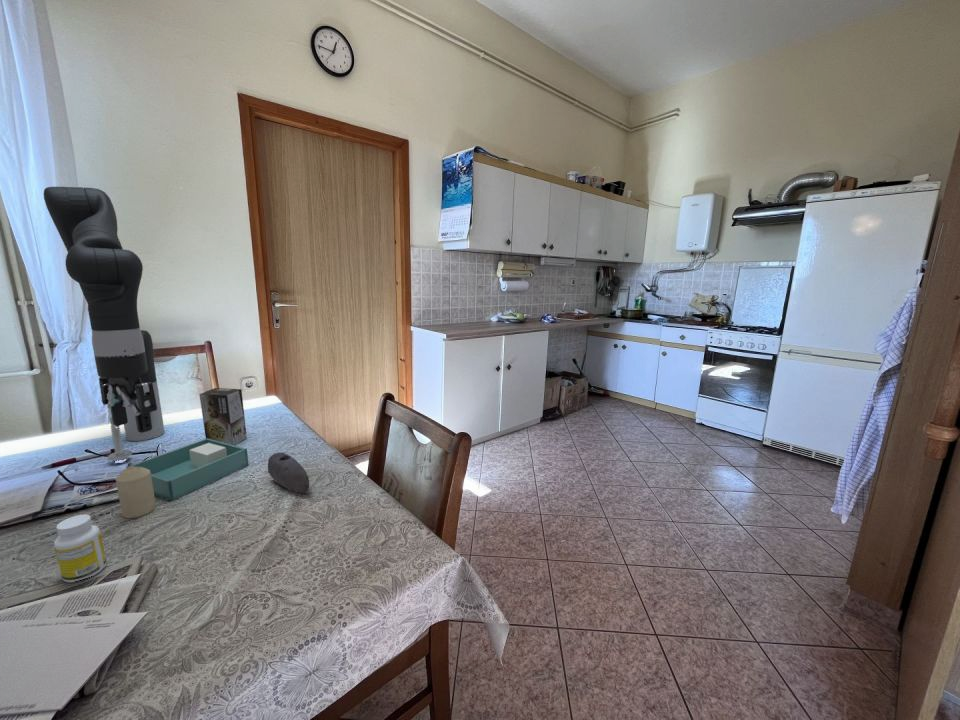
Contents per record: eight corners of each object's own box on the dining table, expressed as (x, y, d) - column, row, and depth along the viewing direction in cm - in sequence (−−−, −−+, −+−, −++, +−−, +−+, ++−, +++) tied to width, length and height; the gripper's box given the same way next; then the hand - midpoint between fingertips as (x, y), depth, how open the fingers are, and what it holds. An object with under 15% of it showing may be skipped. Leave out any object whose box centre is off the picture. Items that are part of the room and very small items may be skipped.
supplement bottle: (82, 561, 69) (72, 512, 67) (115, 560, 69) (105, 511, 67) (52, 584, 63) (39, 532, 61) (88, 583, 64) (76, 531, 62)
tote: (129, 485, 93) (126, 467, 92) (209, 453, 110) (207, 438, 109) (170, 501, 87) (167, 481, 86) (248, 465, 104) (246, 448, 103)
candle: (162, 506, 85) (155, 465, 83) (133, 521, 80) (125, 477, 78) (145, 501, 87) (138, 460, 85) (116, 515, 82) (107, 472, 80)
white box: (191, 465, 102) (189, 449, 101) (210, 457, 106) (208, 442, 105) (209, 471, 99) (206, 455, 98) (227, 463, 104) (226, 447, 103)
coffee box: (248, 437, 122) (242, 388, 118) (233, 446, 116) (227, 394, 112) (221, 436, 123) (215, 387, 119) (205, 444, 116) (198, 393, 113)
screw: (105, 463, 103) (127, 456, 108) (114, 467, 101) (136, 460, 106) (96, 417, 101) (119, 412, 105) (105, 421, 99) (129, 415, 103)
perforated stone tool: (317, 493, 92) (315, 466, 91) (295, 502, 88) (293, 474, 87) (287, 472, 101) (285, 448, 100) (266, 480, 97) (264, 454, 96)
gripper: (76, 351, 76) (90, 428, 80) (117, 357, 71) (131, 440, 74) (122, 346, 83) (134, 417, 86) (163, 351, 78) (174, 427, 81)
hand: (132, 427), depth 80 cm, fingers open, 8 cm apart
